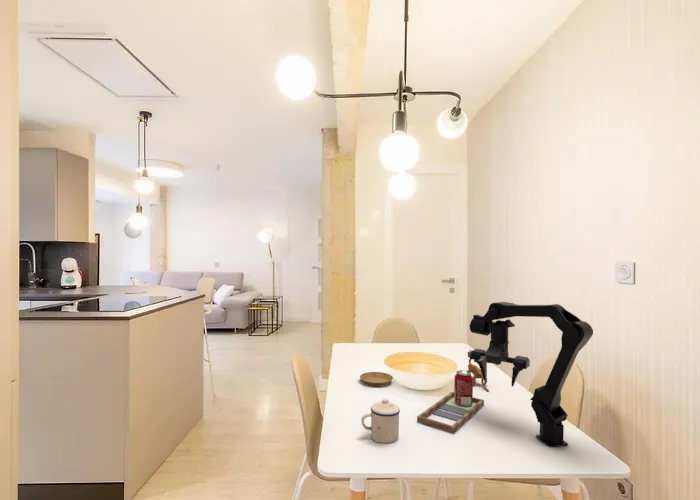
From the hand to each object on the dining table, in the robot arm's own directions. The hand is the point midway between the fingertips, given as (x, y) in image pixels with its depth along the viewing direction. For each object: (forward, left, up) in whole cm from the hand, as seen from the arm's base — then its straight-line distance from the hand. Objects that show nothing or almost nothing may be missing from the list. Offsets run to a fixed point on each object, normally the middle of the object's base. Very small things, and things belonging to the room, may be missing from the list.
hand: (498, 383), depth 130 cm
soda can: (+15, +5, -13) cm, 20 cm away
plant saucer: (+44, +32, -14) cm, 56 cm away
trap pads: (+8, +13, -13) cm, 20 cm away
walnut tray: (+8, +13, -13) cm, 20 cm away
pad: (+15, +6, -13) cm, 20 cm away
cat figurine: (+34, -12, -13) cm, 39 cm away
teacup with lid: (-5, +44, -13) cm, 46 cm away
